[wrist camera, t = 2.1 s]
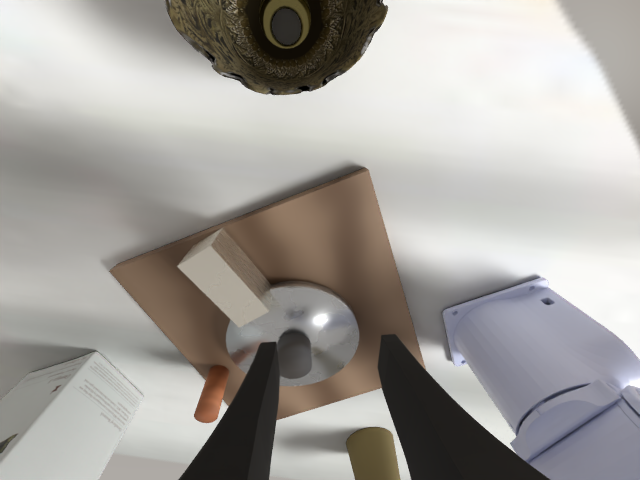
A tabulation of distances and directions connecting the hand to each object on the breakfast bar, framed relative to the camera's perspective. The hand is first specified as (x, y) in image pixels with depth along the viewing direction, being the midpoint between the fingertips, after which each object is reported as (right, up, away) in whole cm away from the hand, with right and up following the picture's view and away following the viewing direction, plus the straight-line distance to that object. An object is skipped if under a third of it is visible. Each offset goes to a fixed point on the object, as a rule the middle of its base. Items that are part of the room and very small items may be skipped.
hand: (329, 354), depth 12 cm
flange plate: (-4, -1, +10) cm, 11 cm away
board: (-3, -3, +13) cm, 13 cm away
